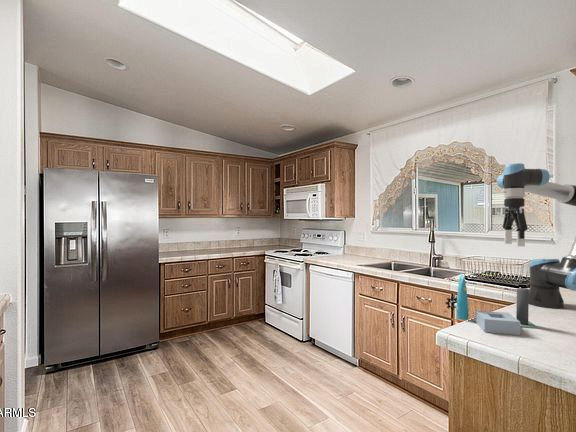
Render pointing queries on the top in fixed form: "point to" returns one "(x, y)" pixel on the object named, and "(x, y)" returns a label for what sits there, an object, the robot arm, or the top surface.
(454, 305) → the valve
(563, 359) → the top surface
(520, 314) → the plug
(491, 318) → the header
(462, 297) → the tube
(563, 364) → the top surface
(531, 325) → the pad
